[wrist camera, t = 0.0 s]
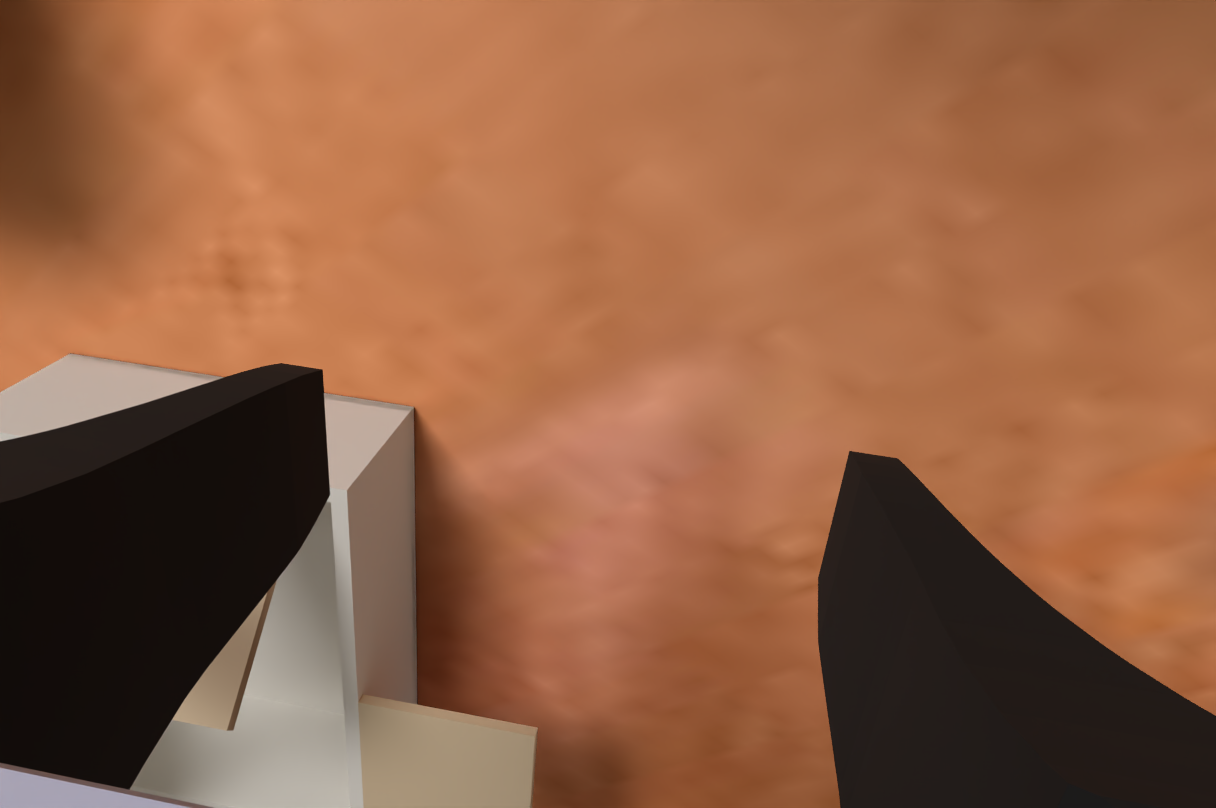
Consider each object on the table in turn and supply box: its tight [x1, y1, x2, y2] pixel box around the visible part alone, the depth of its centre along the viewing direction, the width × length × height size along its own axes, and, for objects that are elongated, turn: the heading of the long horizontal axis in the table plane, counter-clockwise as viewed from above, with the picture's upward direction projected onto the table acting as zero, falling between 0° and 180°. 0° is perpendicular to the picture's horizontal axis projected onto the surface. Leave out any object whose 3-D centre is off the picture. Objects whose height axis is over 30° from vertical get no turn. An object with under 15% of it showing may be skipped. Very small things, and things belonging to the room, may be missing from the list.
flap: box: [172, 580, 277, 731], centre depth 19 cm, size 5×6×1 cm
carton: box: [0, 353, 538, 808], centre depth 26 cm, size 16×15×4 cm
